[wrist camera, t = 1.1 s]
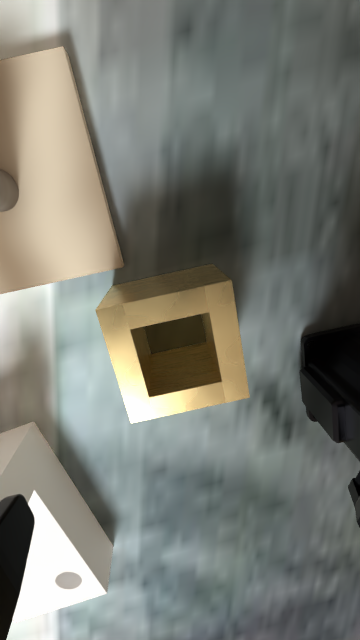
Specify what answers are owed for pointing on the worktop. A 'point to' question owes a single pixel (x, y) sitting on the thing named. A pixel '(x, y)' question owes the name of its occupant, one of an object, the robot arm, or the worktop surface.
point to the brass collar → (181, 363)
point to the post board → (49, 178)
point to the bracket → (53, 527)
